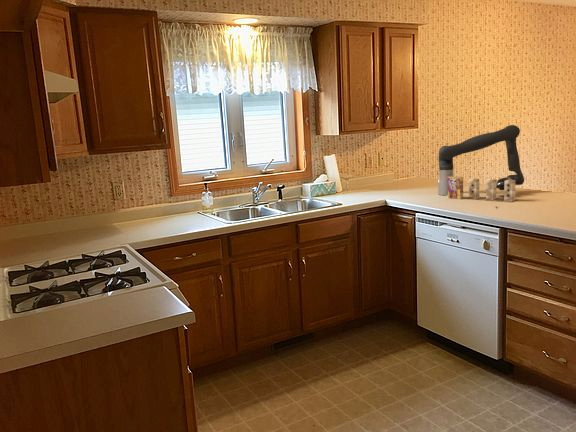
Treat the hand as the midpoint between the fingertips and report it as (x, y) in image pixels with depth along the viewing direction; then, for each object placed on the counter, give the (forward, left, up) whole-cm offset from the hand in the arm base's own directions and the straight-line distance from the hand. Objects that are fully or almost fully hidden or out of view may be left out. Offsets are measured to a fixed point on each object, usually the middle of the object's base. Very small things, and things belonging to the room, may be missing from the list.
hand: (492, 187), depth 303 cm
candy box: (-21, -7, -9) cm, 24 cm away
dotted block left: (-11, -2, -7) cm, 13 cm away
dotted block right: (+11, -2, -7) cm, 13 cm away
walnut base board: (0, -2, -8) cm, 9 cm away
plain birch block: (0, -2, -7) cm, 7 cm away
